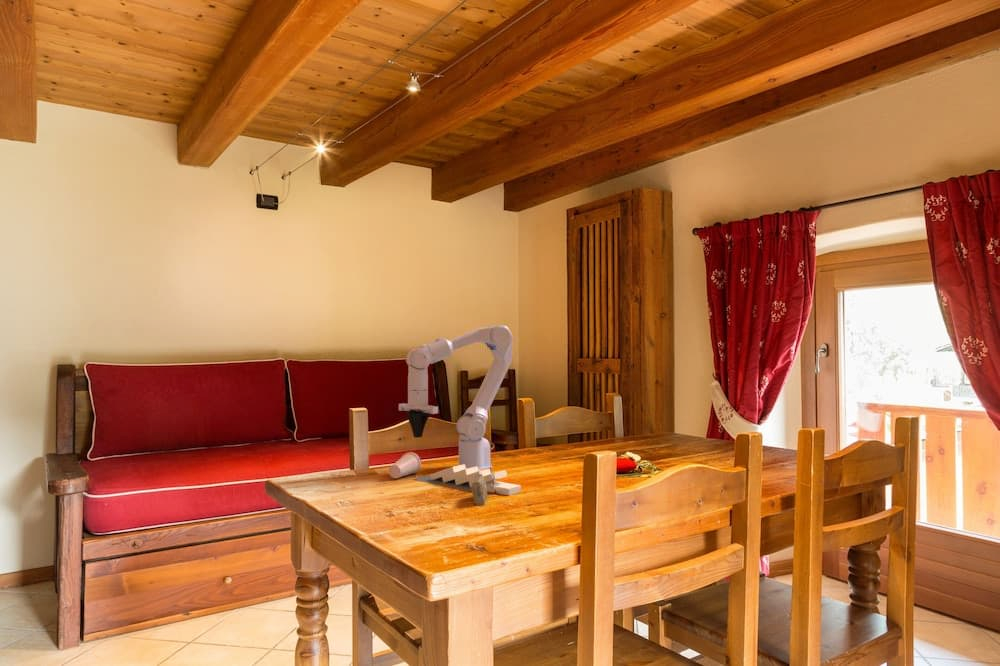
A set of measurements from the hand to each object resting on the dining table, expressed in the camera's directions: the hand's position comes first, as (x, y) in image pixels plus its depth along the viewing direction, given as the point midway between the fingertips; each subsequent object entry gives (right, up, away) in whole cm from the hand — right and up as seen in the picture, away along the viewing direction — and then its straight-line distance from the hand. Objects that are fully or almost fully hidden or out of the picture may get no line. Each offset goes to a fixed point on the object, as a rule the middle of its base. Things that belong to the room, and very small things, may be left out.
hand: (417, 437), depth 184 cm
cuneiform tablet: (+20, -10, -31) cm, 39 cm away
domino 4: (+17, -9, -18) cm, 27 cm away
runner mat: (+13, -10, -15) cm, 22 cm away
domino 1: (+7, -9, -9) cm, 15 cm away
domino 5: (+21, -9, -21) cm, 31 cm away
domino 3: (+14, -9, -15) cm, 22 cm away
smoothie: (-5, -8, -11) cm, 14 cm away
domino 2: (+10, -9, -12) cm, 18 cm away
